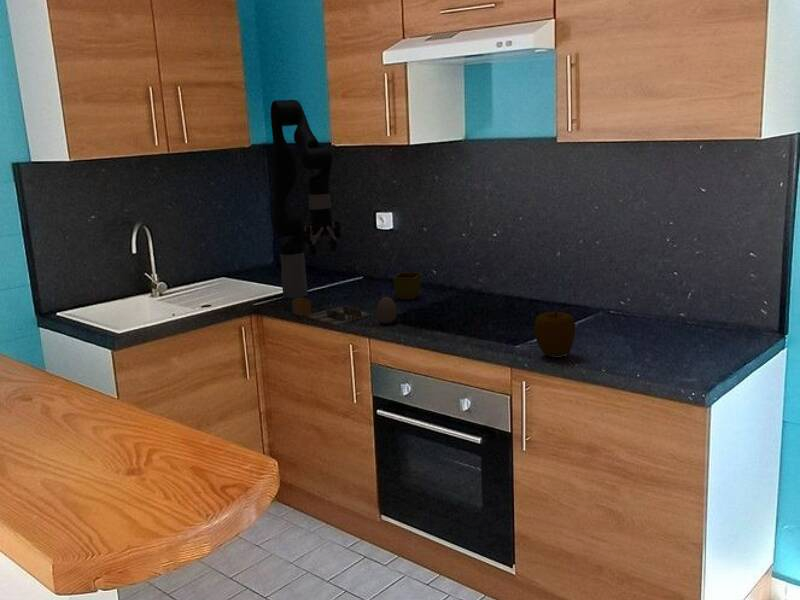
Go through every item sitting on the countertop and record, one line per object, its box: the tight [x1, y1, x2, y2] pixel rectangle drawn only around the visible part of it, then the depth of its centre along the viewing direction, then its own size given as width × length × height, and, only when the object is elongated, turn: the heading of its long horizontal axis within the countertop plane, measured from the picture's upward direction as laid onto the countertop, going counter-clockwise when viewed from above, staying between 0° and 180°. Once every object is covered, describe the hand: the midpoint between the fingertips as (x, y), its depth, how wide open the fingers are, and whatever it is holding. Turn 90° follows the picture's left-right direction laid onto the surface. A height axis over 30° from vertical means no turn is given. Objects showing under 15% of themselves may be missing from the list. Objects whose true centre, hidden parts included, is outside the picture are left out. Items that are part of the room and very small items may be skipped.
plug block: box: [291, 297, 312, 317], centre depth 287 cm, size 6×4×6 cm, turn 40°
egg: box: [376, 296, 398, 325], centre depth 267 cm, size 7×7×9 cm
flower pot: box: [392, 272, 422, 301], centre depth 301 cm, size 9×9×9 cm
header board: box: [305, 304, 373, 326], centre depth 281 cm, size 18×16×5 cm
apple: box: [534, 311, 576, 356], centre depth 223 cm, size 11×11×13 cm
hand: (323, 252), depth 281 cm, fingers open, 8 cm apart
